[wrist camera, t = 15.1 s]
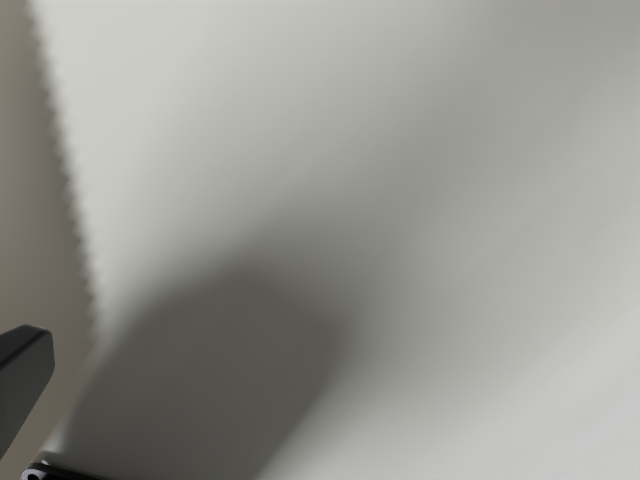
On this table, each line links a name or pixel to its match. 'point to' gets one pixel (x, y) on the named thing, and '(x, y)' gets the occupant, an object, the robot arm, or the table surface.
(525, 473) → the table surface
